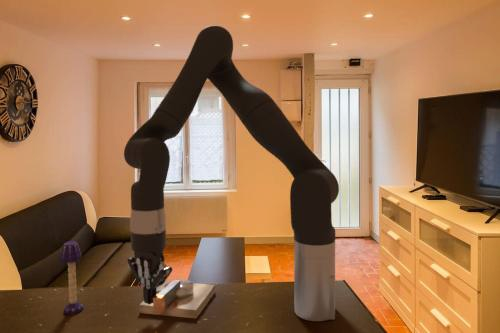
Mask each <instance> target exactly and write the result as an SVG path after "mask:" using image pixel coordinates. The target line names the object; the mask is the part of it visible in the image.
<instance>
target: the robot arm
mask: <svg viewBox="0 0 500 333" xmlns="http://www.w3.org/2000/svg"><path fill="white" fill-rule="evenodd" d="M233 52H234V40H233V37H232V34H231V33H230V32H229V30H228V29H226V28H225V27H223V26H220V25H215V24H214V25H209V26H206V27H204V28H203V29H201V30H200V31H199V32H198V34H197V36H196V38H195V41H194V43H193V45H192V47H191V50H190V52H189V54H188V57H187V59H186V61H185V62H184V64H183V67H181V68H182V69H181V70H180V72H179V74H178V75H177V78H176V79H175V81H174V82H173V84H172V85H171V87H170V88H169V89H168V91H167V93H166V94H165V96H164V97H163V98H162V100H161V102H160V103H159V105H158V106H157V107H156V109H155V111H154V112H153V114H152V115H151V117H150V118H148V120H147V121H145V122H144V123H143V124H142V125H141V126H140V127H139V128H138V129H137V130H136V131H135V132H134V133H133V134H132V135H131V136H130V138H129V139H128V141H127V142H126V144H125V147H124V149H123V156H124V157H123V158H124V161H125V162H126V164H127V165H128V166H130V167H131V168H133V169H136V170H137V169H138V170H140V172H139V177H138V178H139V179H138V181H135V182H133V183H132V185H131V187H130V208H131V210H130V217H129V218H130V220H129V222H130V224H129V226H130V248H131V251H133V256H132V257H129V258H127V259H126V260H127V263H128V266H129V268H130V270H131V272H132V274H133V277H134V279H135V281H136V282H137V283H139V284H140V285H141V287H142V290H143V291H142V292H143V294H142V298H143V301H144V302H145V303H147V304H151V303H153V297H154V296H156V289H157V288H158V287H159V286H161V285H163V284H164V282H165V281H167V279H168V278H169V277H170V275H171V273H172V272H173V268H172V266H170V265H169V266H167V264H166V263H165V256H164V250H165V248H166V247H167V233H166V232H167V228H166V227H167V226H166V224H167V223H166V212H165V193H164V192H165V190H164V189H165V185H166V182H167V178H168V173H169V167H170V164H171V163H170V162H171V155H170V150H169V147H168V146H167V143H166V141H167V140H170V139H174V138H176V137H177V136H178V135H179V134H180V132H181V131H182V129H183V127H184V126H185V124H186V123H187V121H188V120H189V118H190V116H191V115H192V113H193V110H194V109H195V107H196V105H197V102H198V100H199V96H200V95H201V93H202V91H203V88H204V85H205V84H206V82H207V80H209V82H210V83H211V84H212V85H213V86H214V87H215V88H216V89H217V90H218V92H219V93H220V94H221V95H222V96H223V98H224V99H225V101H226V102H227V104H228V105H229V107H230V108H231V109H232V111H233V112H234V113H235V114H236V116H237V118H239V120H240V122H241V123H242V125H243V126H244V127H245V129H246V130H247V131H248V133H249V134H250V136H251V137H252V138H253V139H254V140H255V141H256V142H257V143H258V144H259V146H260V147H262V148H263V149H265V150H266V151H267V152H269V153H270V154H271V155H272V156H274V157H275V158H276V159H278V161H280V162H281V163H282V165H284V167H285V168H286V169H287V170H288V172H289V173H290V174H291V176H292V177H293V180H292V181H291V182H292V183H291V185H290V190H289V205H290V206H289V207H290V209H289V210H290V225H291V229H292V231H293V237H294V238H293V240H294V241H293V248H294V250H293V251H294V252H293V255H294V256H293V259H294V261H293V263H294V266H293V268H294V269H293V273H294V274H293V275H294V276H293V279H294V281H293V282H294V283H293V284H294V288H293V289H294V290H293V291H294V297H293V298H294V301H293V304H294V305H293V306H294V313H295V314H296V316H297V317H299V318H300V319H302V320H304V321H305V320H306V321H310V322H324V321H328V320H333V321H334V320H335V319H336V229H335V227H334V226H333V222H332V204H333V203H334V202H335V201H336V200H337V198H338V197H339V196H338V195H339V193H340V192H339V191H340V186H339V181H338V179H337V177H336V175H335V174H334V173H333V172H332V170H330V168H328V166H326V165H325V164H324V162H323V161H321V159H320V158H319V157H318V156H317V155H316V154H315V153H314V152H313V151H312V150H311V148H309V146H308V145H307V144H306V143H305V141H304V140H303V138H302V137H301V136H300V133H298V130H296V128H295V127H294V125H292V123H291V122H290V120H289V119H288V118H287V117H286V115H285V113H283V110H282V109H281V108H280V106H278V105H279V104H277V103H276V102H275V100H274V99H273V98H272V97H271V96H270V94H268V93H267V92H266V91H264V90H263V89H261V88H259V87H258V86H255V85H254V84H252V83H250V82H249V81H248V80H246V79H245V77H244V76H243V75H242V74H241V73H240V71H239V70H238V67H236V65H235V63H234V62H233V58H232V57H233Z"/></svg>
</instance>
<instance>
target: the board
mask: <svg viewBox="0 0 500 333" xmlns="http://www.w3.org/2000/svg"><path fill="white" fill-rule="evenodd" d="M168 282H171V281H170V280H169V281H167V280H166V281H165V282H164V284H163V285H161V286H158V287H156V295H157V294H158V293H159V292H161V291H162V290H163V289H164V286H165V285H166V284H167V283H168ZM192 283H193V282H192ZM215 293H216V284H208V283H197V282H196V283H195V282H194V283H193V294H192V295H191V296H189V297H187V298H184V299H175V300H174V301H173V302H172V303H171V304H170V305H169V306H168V307H167V308H166V309H165V311H164V312H163V313H162V314H158V313H154V310H153V303H151V304H147V303H145V302H144V300H143V301H141V302H140V304H139V306H138V308H139V314H146V315H157V316H166V317H167V316H169V317H176V318H177V317H179V318H185V319H186V318H189V319H197V318H198V317H199V315H200V314H201V313H202V312H203V310H204V308H205V307H206V306H207V305H208V303H209V301H211V299H212V297H213V296H214V295H215ZM213 294H214V295H213ZM210 298H211V299H210Z"/></svg>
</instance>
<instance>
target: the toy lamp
mask: <svg viewBox="0 0 500 333" xmlns="http://www.w3.org/2000/svg"><path fill="white" fill-rule="evenodd" d="M82 257H83V256H82V252H81V249H80V247H79V244H78V242H77V241H73V240H72V241H71V240H70V241H65V243H63V245H62V248H61V253H60V257H59V261H60V262H61V263H64V264H67V266H68V267H67V272H68V274H67V277H68V296H69V298H68V302H69V303H67V304H66V305H65V307H64V309H63V313H64V314H65V315H77V314H79V313H81V312H82V311H83V310H84V306H83V304H82V302H80V301H78V299H77V295H78V293H77V274H76V262H79V261H81V260H82Z"/></svg>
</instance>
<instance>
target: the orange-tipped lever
mask: <svg viewBox="0 0 500 333" xmlns="http://www.w3.org/2000/svg"><path fill="white" fill-rule="evenodd" d="M192 294H193V281H191V280H189V279H188V280H187V279H173V280H172V281H171V282H168V283H167V284H166V285H165V286H164V289H163V290H162V291H161V292H159V293H158V294H157V295H156V296H154V297H153V310H154V313H158V314H162V313H163V312H164V311H165V309H166V308H167V307H168V306H169V305H170V304H171V303H172V302H173V301H174V300H175V299H184V298H187V297H189V296H191V295H192Z"/></svg>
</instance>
